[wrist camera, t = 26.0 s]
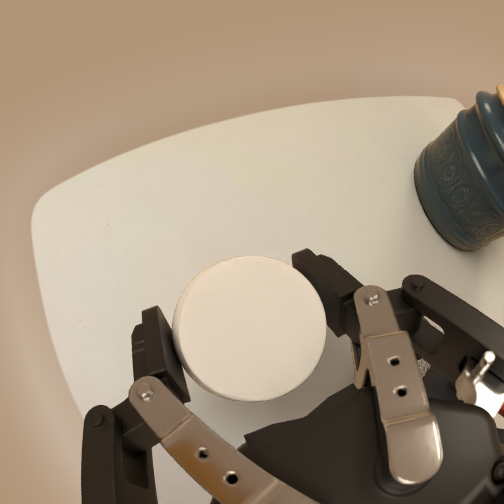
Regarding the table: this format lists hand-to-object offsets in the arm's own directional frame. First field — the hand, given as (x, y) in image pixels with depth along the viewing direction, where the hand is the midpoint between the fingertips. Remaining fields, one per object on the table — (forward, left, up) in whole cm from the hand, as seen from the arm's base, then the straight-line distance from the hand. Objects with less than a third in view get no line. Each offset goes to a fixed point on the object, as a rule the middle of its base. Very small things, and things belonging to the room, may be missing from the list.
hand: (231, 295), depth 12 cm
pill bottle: (-1, -2, -8) cm, 8 cm away
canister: (+25, -9, -8) cm, 28 cm away
